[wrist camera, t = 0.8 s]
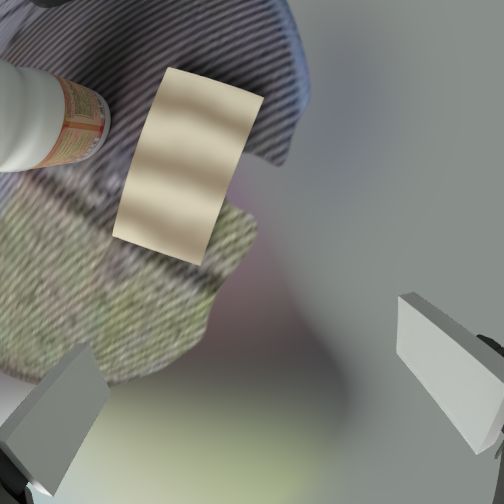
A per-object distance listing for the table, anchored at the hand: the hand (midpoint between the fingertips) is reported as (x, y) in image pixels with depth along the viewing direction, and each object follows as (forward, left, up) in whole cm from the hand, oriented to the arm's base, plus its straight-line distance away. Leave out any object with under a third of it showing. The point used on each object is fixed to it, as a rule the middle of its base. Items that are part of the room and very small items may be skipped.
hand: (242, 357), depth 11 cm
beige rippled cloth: (-4, -7, -26) cm, 27 cm away
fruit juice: (-5, -22, -26) cm, 34 cm away
